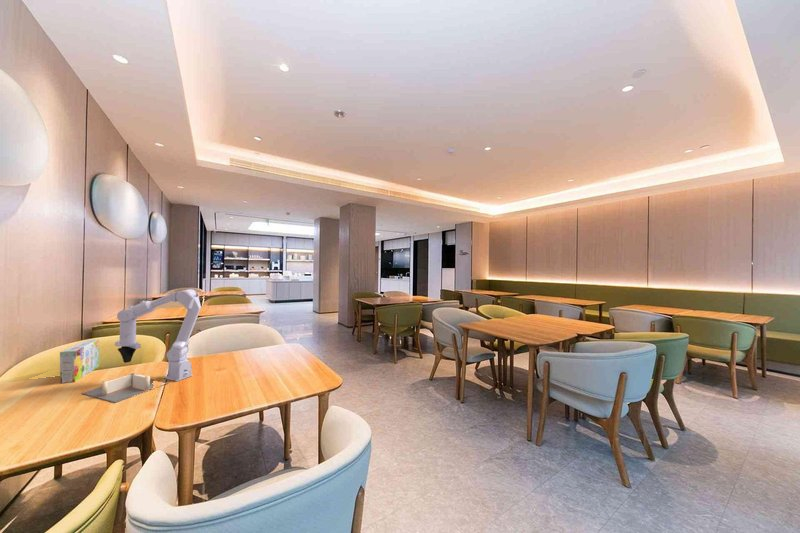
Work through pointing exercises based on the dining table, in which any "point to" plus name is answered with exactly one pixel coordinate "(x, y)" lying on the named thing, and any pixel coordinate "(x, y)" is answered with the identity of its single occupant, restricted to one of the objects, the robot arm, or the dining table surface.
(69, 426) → the dining table surface
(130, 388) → the card
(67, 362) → the snack box
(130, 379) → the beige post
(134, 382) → the fixed fence section
